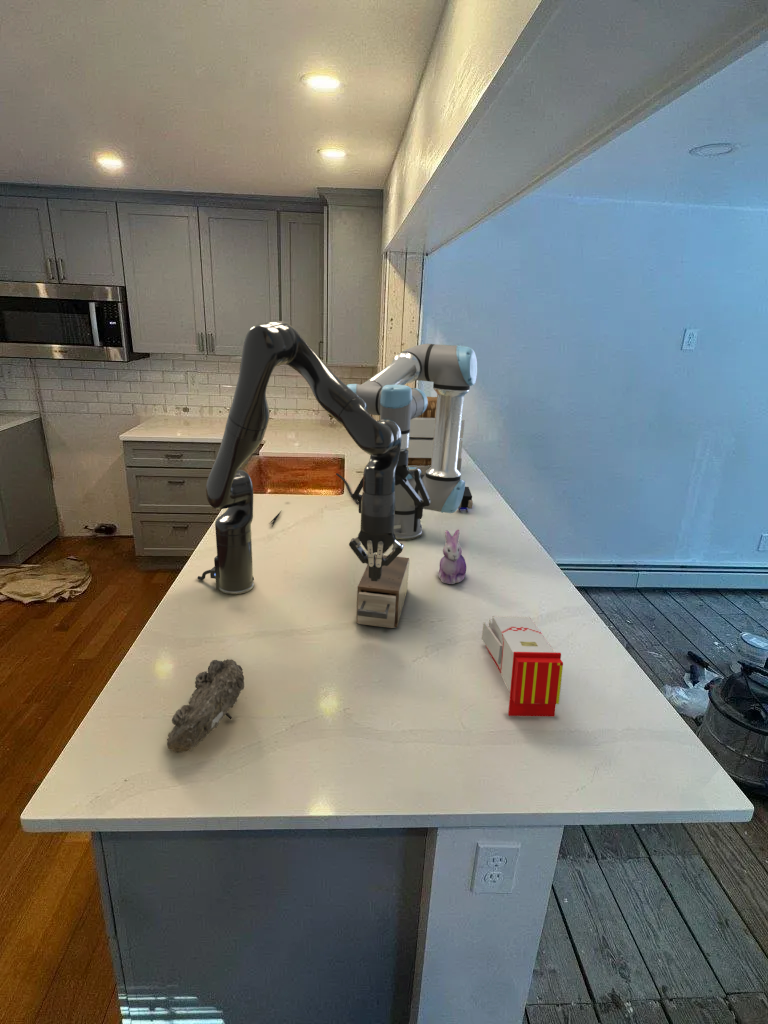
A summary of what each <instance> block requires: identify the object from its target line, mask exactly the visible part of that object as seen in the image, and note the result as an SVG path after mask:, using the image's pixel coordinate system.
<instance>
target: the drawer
mask: <svg viewBox="0 0 768 1024" xmlns="http://www.w3.org/2000/svg"><path fill="white" fill-rule="evenodd" d="M395 606H396V596H395V594H390V593H381V592H373V591H364V592H359V593H358V612H357V611H356V624H358V625H366V626H372V627H373V626H374V627H379V628H380V627H381V628H390V629H394V628H395V627H394V624H395Z"/></svg>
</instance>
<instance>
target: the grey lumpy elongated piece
mask: <svg viewBox="0 0 768 1024" xmlns="http://www.w3.org/2000/svg"><path fill="white" fill-rule="evenodd" d="M243 670H244V669H243V667H242V665H240V664H237V662H236V661H235V660H234V659H232V658H231V659H227V658H226V659H224V660H223V661H222V660H217V659H212V660H211V661H210V663H209V665H208V666H207V671H201V672H199V673H198V674H197V675H196V676H195V680H194V684H195V685H194V687H195V689H194V690H193V693H192V694H191V697H190V698H189V700H188V704H184V705H182V706H181V707H180V709H177V710H176V711H175V713H174V715H173V716H172V718H171V723H172V724H173V727H172V730H171V731H170V732H168V734H167V738H166V741H167V742H166V745H167V749H168V750H169V751H173V752H174V753H176V754H178V753H182V752H188V751H189V752H192V751H193V750H195V748H196V747H197V746H199V744H200V743H201V742H203V741H204V740H205V739H206V738H207V737H208V736H209V735H210V734H211V733H212V732H214V730H215V729H217V727H218V726H219V724H220V722H221V721H222V720H223V719H224V718H225V716H226V717H227V719H229V720H233V717H232V715H230V714H229V710H230V709H231V708H234V706H235V704H236V703H237V702H238V699H239V697H240V695H241V693H242V691H243V690H245V689H244V688H245V675H244V671H243Z"/></svg>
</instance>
